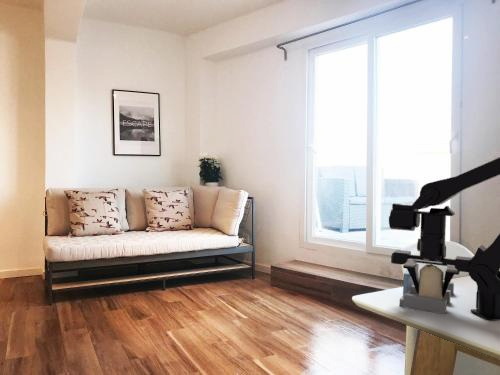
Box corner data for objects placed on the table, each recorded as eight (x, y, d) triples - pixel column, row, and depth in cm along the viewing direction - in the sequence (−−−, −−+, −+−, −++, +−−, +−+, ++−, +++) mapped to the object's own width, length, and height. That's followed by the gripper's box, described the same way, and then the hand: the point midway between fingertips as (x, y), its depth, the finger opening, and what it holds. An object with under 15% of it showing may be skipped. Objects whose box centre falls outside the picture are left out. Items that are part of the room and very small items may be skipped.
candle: (446, 308, 105) (447, 267, 104) (423, 307, 105) (424, 267, 105) (436, 302, 110) (438, 263, 110) (415, 301, 110) (416, 262, 110)
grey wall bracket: (445, 314, 100) (446, 288, 100) (394, 305, 106) (395, 281, 106) (453, 293, 119) (454, 271, 119) (410, 287, 125) (410, 266, 125)
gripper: (476, 232, 109) (474, 293, 110) (400, 227, 119) (398, 283, 119) (474, 237, 100) (471, 304, 100) (391, 230, 109) (389, 291, 109)
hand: (430, 294), depth 107 cm, fingers closed on candle, 5 cm apart
